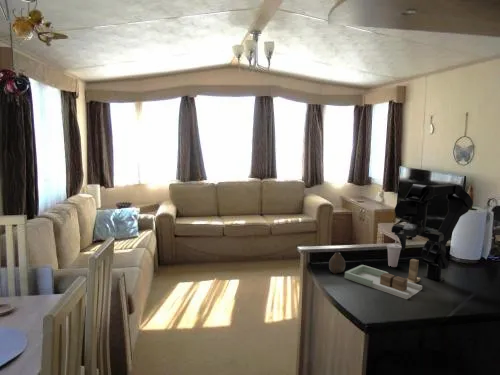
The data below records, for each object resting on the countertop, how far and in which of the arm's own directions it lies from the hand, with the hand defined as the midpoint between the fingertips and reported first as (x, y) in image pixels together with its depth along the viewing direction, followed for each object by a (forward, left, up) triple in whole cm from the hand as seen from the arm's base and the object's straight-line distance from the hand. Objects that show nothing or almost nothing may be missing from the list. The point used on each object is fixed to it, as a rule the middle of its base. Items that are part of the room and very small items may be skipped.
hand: (414, 253), depth 149 cm
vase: (+14, -27, -13) cm, 33 cm away
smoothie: (-14, -15, -13) cm, 24 cm away
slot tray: (+12, -7, -13) cm, 19 cm away
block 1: (+12, -5, -12) cm, 18 cm away
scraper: (0, 0, -13) cm, 13 cm away
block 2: (+12, 0, -12) cm, 17 cm away
